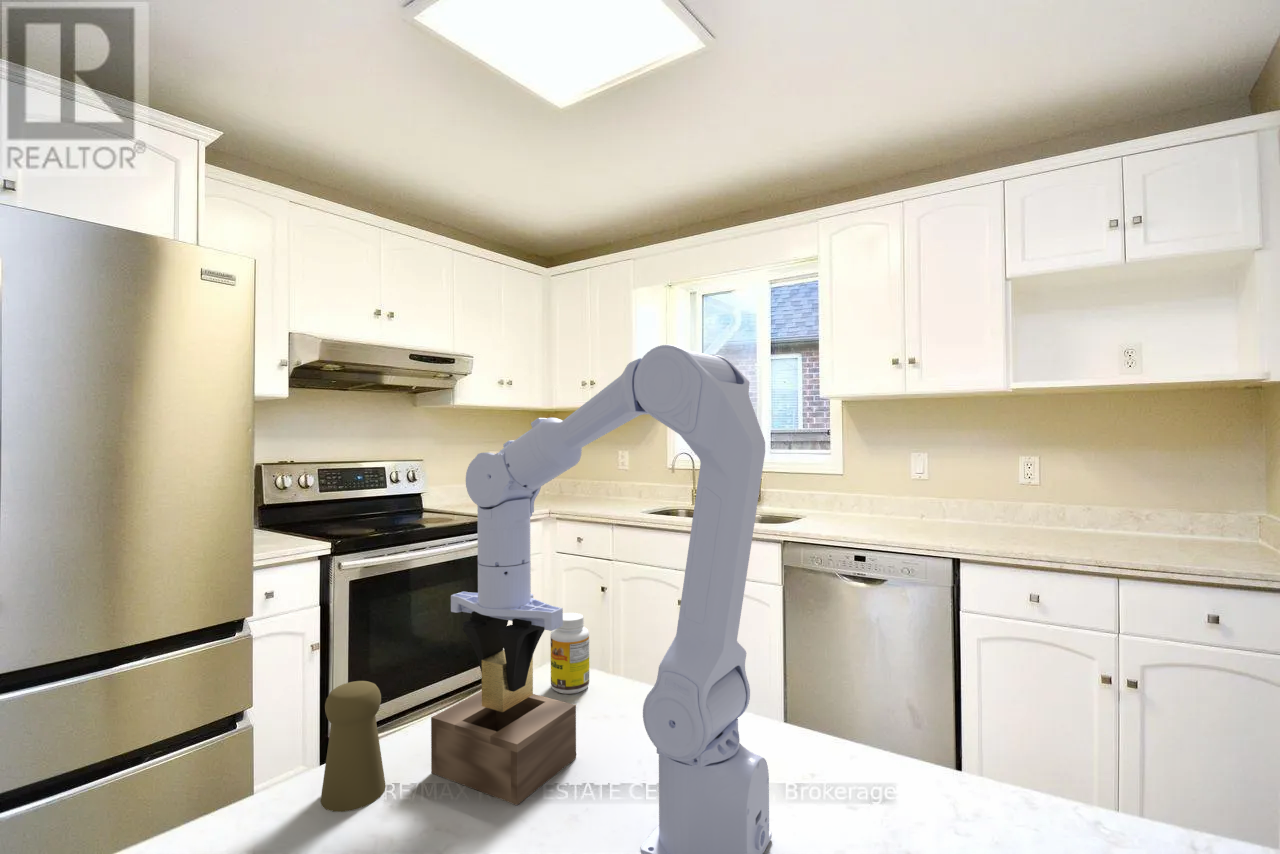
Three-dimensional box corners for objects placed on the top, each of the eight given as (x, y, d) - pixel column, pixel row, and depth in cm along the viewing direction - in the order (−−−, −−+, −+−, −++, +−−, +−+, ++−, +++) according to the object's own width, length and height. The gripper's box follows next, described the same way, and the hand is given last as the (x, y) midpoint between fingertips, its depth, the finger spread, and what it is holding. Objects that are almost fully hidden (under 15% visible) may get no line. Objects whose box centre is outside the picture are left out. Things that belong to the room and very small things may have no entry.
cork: (361, 815, 60) (360, 700, 60) (306, 807, 61) (306, 695, 61) (397, 780, 65) (397, 676, 66) (347, 774, 67) (346, 672, 67)
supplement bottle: (545, 684, 90) (544, 613, 90) (580, 676, 93) (580, 608, 93) (558, 698, 85) (558, 624, 85) (595, 690, 88) (595, 618, 88)
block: (532, 694, 70) (532, 650, 70) (502, 712, 66) (502, 665, 66) (512, 689, 72) (512, 646, 72) (481, 706, 67) (481, 660, 67)
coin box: (576, 758, 70) (575, 704, 70) (517, 805, 61) (516, 744, 61) (495, 733, 75) (495, 684, 76) (431, 773, 67) (431, 717, 67)
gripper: (579, 561, 68) (579, 684, 68) (481, 549, 75) (481, 661, 75) (538, 574, 62) (539, 709, 62) (436, 560, 69) (436, 681, 69)
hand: (504, 684), depth 68 cm, fingers closed on block, 3 cm apart
